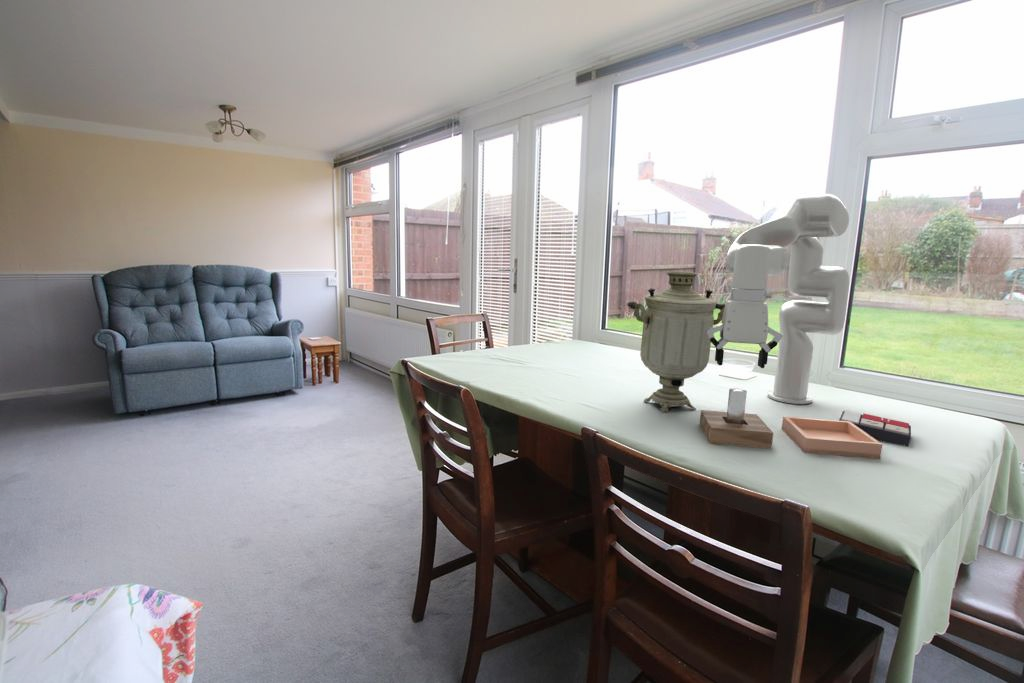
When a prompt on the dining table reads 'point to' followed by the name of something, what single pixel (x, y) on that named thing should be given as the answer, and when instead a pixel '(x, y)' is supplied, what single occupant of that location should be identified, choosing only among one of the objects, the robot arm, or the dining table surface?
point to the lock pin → (736, 406)
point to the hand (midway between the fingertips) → (740, 365)
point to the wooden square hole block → (735, 430)
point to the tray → (831, 437)
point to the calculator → (880, 427)
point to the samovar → (676, 336)
